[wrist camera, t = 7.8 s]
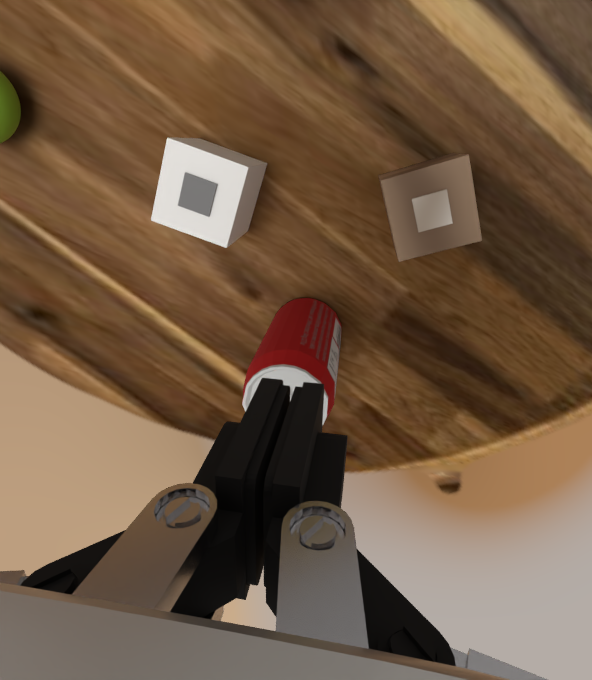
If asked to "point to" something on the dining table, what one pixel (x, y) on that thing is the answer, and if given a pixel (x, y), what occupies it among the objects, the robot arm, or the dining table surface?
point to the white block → (207, 190)
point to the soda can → (299, 350)
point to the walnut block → (431, 206)
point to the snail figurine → (8, 109)
